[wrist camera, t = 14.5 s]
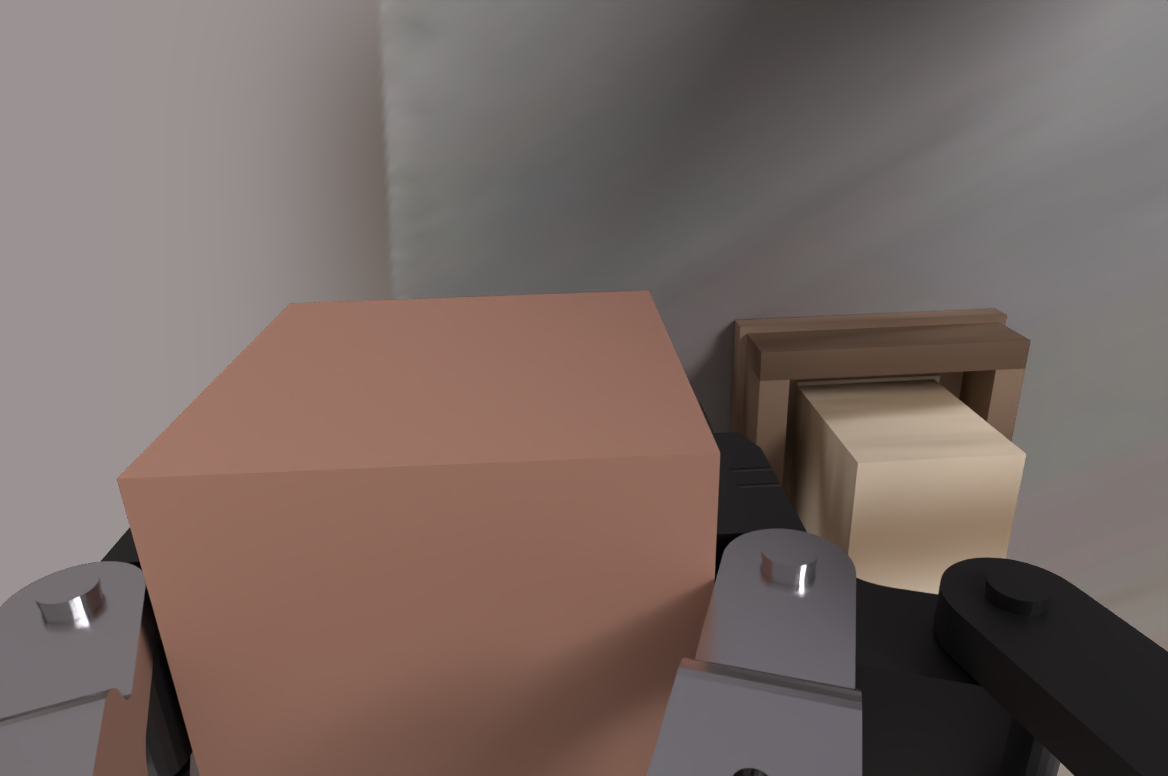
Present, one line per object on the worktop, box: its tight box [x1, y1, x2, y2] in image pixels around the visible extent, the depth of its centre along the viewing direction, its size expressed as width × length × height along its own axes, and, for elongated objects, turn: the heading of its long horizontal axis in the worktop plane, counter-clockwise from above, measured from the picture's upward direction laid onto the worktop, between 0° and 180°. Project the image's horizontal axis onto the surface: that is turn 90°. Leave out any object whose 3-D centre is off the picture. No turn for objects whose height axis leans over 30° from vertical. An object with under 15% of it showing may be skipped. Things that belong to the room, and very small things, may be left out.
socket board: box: [730, 309, 1030, 498], centre depth 30 cm, size 10×10×3 cm
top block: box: [117, 290, 720, 776], centre depth 10 cm, size 5×5×5 cm
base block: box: [789, 379, 1026, 594], centre depth 27 cm, size 5×5×6 cm
